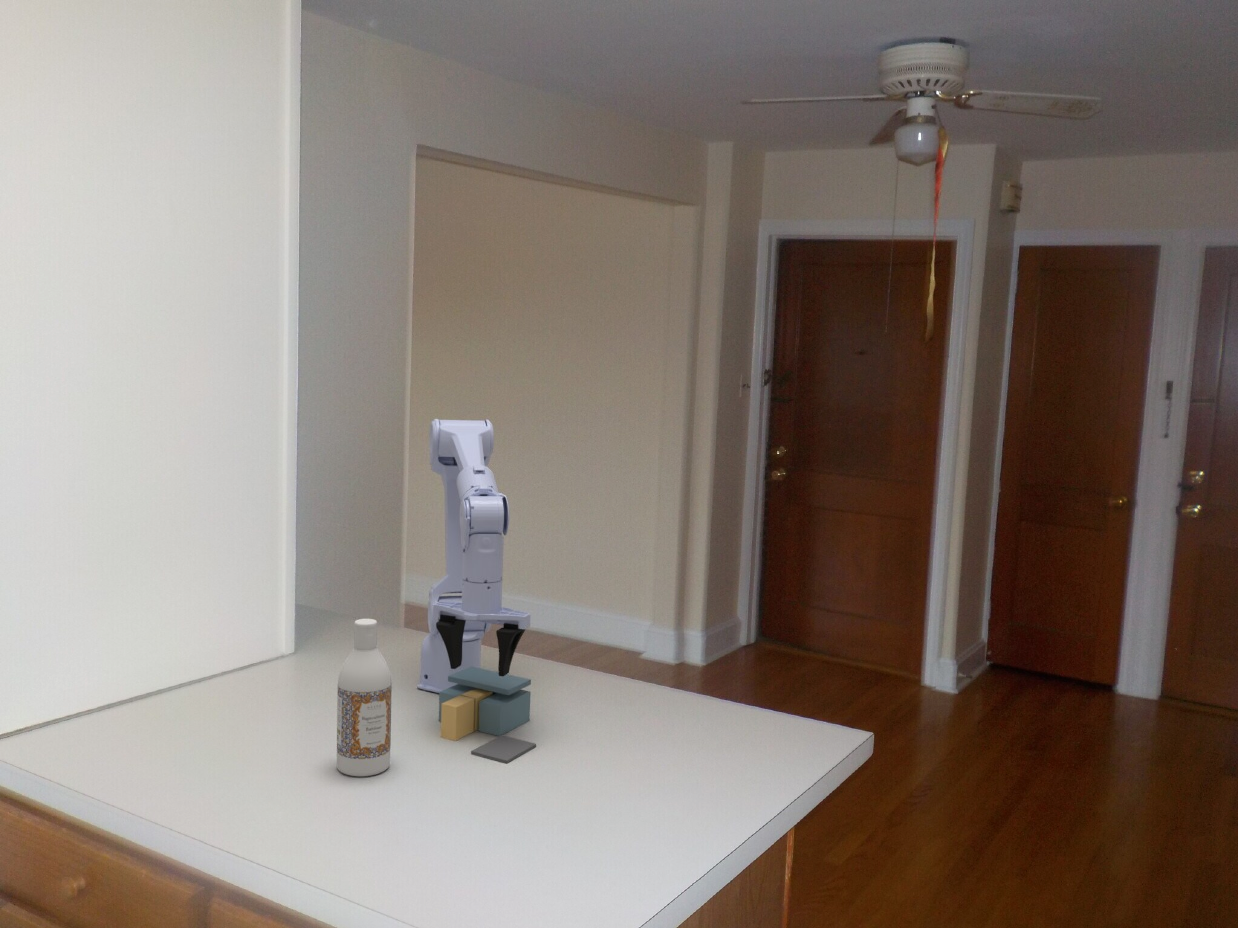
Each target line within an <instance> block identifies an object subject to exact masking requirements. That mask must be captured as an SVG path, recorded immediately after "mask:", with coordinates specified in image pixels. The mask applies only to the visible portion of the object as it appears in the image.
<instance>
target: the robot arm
mask: <svg viewBox="0 0 1238 928" xmlns="http://www.w3.org/2000/svg"><path fill="white" fill-rule="evenodd" d="M429 425H430V426H429V434H428V435H429V437H428V439H429V440H428V441H429V445H428V446H429V464H430V467H431V469H430V470H431V471H432V472H434V473H436V474H438V475H440V477H441V480H442V484H443V490H444V533H445V534H444V539H445V542H444V543H445V544H444V546H445V547H444V548H445V551H444V553H445V575H444V576H443V577H441V578H440V579H439V580H438V581H436V582H435V583H433V584H432V586H431V587H430V589H429V593H428V603H427V625H428V626H427V627H428V630H429V633H428V634H427V635H426V636H425V637H424V639H423V641H422V644H421V647H420V664H419V665H420V666H419V670H420V671H419V673H420V674H419V683H418V684H417V685H416V688H417V689H419V690H420V689H421V690H424V691H428V692H433V693H436V694H439V692H440V691H443V690H445V689H447V688H450V687H452V686H454V685H456V684H457V683H453V682H449V681H448V676H449V675H452V674H454V673H457V672H459V671H461V670H464V669H466V668H469V667H471V666H472V667H477V668H481V669H482V667H481V662H482V639H484V637H485V636H484V635H485V633H486V634H487V633H488V632H489V631H490V629H492V625H501V626H503V627H501V628H499V629H497V630H496V631H495V632H496V633H495V635H496V638H497V646H498V647H497V648H498V670H497V672H499V676H505V675H506V674H510V669H511V665H512V661H513V658H514V654H515V651H516V649H517V647H518V644H519V642H520V640H521V639H522V638H523V635H524V633H525V631H526V630H527V629H528V628H529V627H531V613H530V612H525V611H520V610H515V609H512V608H508V607H506V606H505V607H504V606H502V605H503V604H502V601H503V599H502V598H503V576H504V575H503V571H504V570H503V568H504V540H505V539H504V536H507V534H508V531H509V525H510V506H509V502H508V498H507V495H505V494H503V493H502V492H499V489H498V488H499V487H498V485H497V481H496V477H495V475H494V472H493V471H492V470H491V469H490V468H489V467H488V466H489V463H490V459H491V458H492V457H491V455H493V452H494V444H495V435H494V433H495V432H494V426H493V423H492V422H491V421H490V420H489V419H484V420H478V419H476V420H473V419H472V420H469V419H465V420H464V419H463V420H462V419H439V418H434V419H433V420H432V421H431V422H430V424H429ZM502 534H503V535H502ZM443 594H461V595H443Z"/></svg>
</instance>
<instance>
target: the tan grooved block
mask: <svg viewBox="0 0 1238 928" xmlns="http://www.w3.org/2000/svg"><path fill="white" fill-rule="evenodd" d="M490 696H492V691H488V690H483V689H479V688H475V689H473V690H471V691H468V692H466V693H464V694H462V695H459V696H457V697H455V698H453V699H451V700H448V701H446V702H444V703H442V706H441V721H440V738H444V739H447V740H451V741H459V740H461V739H462V738H464V737H466V736H467V735H470V734H472V733H474V732H476V731H477V730H478V731H479V702H480V701H481V700H484V699H486V698H488V697H490Z"/></svg>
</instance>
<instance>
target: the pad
mask: <svg viewBox="0 0 1238 928" xmlns="http://www.w3.org/2000/svg"><path fill="white" fill-rule="evenodd" d="M536 747H537V743H535V742H530V741H527V740H524V739H519V738H514V737H511V736H508V735H507V736H506V735H504V734H503V735H500V736H496V737H495V738H493V739H491V740H489V741H487V742H486V743H484V744H482V745H480V746H477V748H474V749H472V750H471V751H470V754H471V755H475V756H478V757H482V758H486V759H489V760H493V761H496V762H500V763H504V764H508V763H511V762H512V761H514V760H516V759H517V758H519V757H521V756H522V755H524V754H526V753H528V752H530V751H531V750H533V749H535V748H536Z"/></svg>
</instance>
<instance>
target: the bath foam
mask: <svg viewBox="0 0 1238 928" xmlns="http://www.w3.org/2000/svg"><path fill="white" fill-rule="evenodd" d="M353 630H354V631H353V635H354V636H353V646H354V647H353V649H352V650H351V651H350V653H349V654H348V656H347V658H346V659H345V661H344V662H343V664H342V666H341V668H340V671H339V675H338V680H337V701H336V702H337V705H336V707H337V709H336V710H337V711H336V712H337V713H336V767H337V769H338V771H339V772H340V773H341V774H344V775H347V776H351V777H369V776H375V775H379V774H381V773H383V772H385V771H386V770H387V769H388V768H389V767H390V763H391V743H392V742H391V740H392V738H391V736H392V735H391V733H392V689H393V688H392V686H393V685H392V684H393V682H392V675H391V670H390V668H389V665H388V663H387V661H386V659H385V658H384V656H383V655H382V653H381V651H379V649H378V647H377V643H378V621H377V620H376V619H374V618H373V619H372V618H360V619H356V620H354V625H353Z"/></svg>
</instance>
